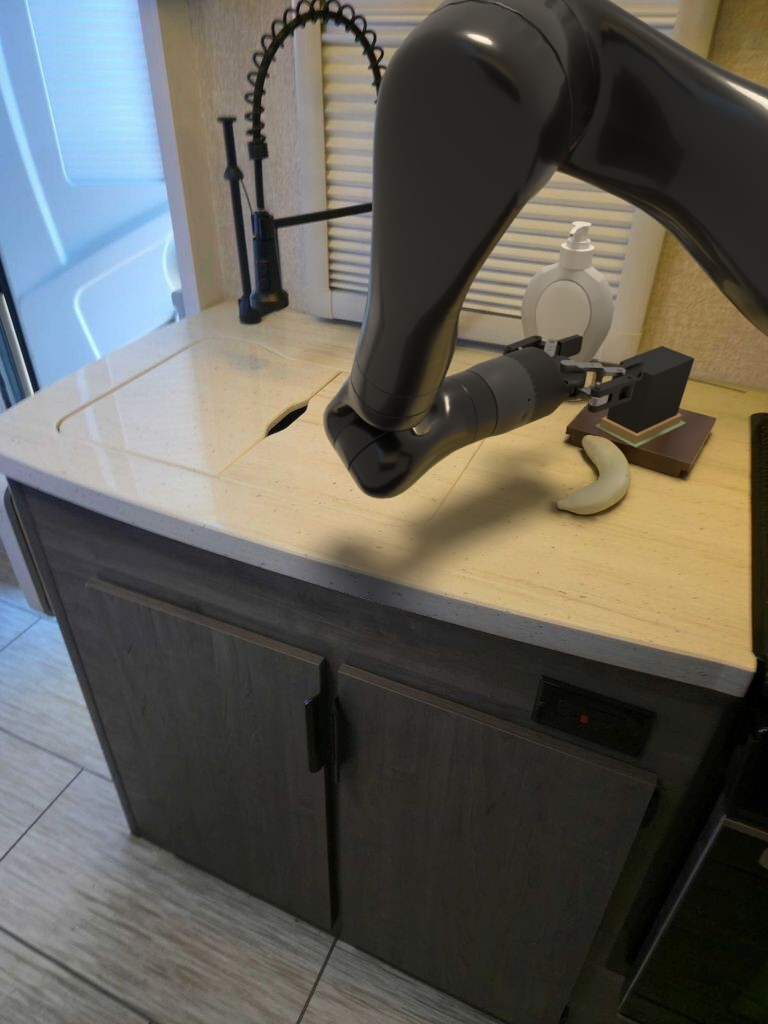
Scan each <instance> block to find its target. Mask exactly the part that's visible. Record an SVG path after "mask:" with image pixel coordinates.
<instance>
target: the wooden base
mask: <svg viewBox="0 0 768 1024" xmlns="http://www.w3.org/2000/svg"><path fill="white" fill-rule="evenodd" d="M587 406H588V403H587V404H586V405H584V407H583V408H582V409H581V410H580V411H579V413H578V414H577V415H575V417H574V418H573V419H572V420H571V421H570V422H569V424H567V425H566V429H565V433H564V434H565V435H568V436H570V437H571V443H570V444H571V445H573V446H576V447H579V448H583V445H582V439H583V437H584V436H587V435H592V436H599V437H603V438H606V439H608V440H610V441H611V442H612V443H613V444H615V445H616V446H617V447H618V448H619V449H620V450H621V452H622V453H623V454H624V456H625V457H626V459H627V462H628V463H630V464H631V463H632V464H635V465H638V466H640V467H644V468H647V469H650V470H653V471H657V472H660V473H663V474H667V475H670V476H673V477H675V478H678V477H679V476H680V474H681V472H682V471H686V472H689V471H690V470H691V468H692V466H693V465H694V463H695V461H696V459H697V457H698V456H699V454H700V452H701V450H702V448H703V446H704V445H705V443H706V441H707V439H708V437H709V435H710V434H711V432H712V430H713V428H714V426H715V424H716V422H717V417H715V416H711V415H707V414H703V413H700V412H695V411H692V410H688V409H684V408H681V407H679V410H678V413H679V414H681V415H682V416H681V419H680V422H679V423H677V424H675V425H673V426H671V427H669V428H667V429H665V430H663V431H661V432H659V433H656V434H654V435H652V436H650V437H648V438H646V439H644V440H642V441H640V442H638V443H636V444H634V443H632V442H630V441H628V440H626V439H624V438H622V437H620V436H618V435H616V434H614V433H612V432H611V431H609V430H607V429H605V428H603V427H601V426H600V424H601V419H602V418H604V417H606V416H607V415H608V411H609V408H608V409H605V410H602V411H599V412H596V413H592V412H589V411H588V410H587Z"/></svg>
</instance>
